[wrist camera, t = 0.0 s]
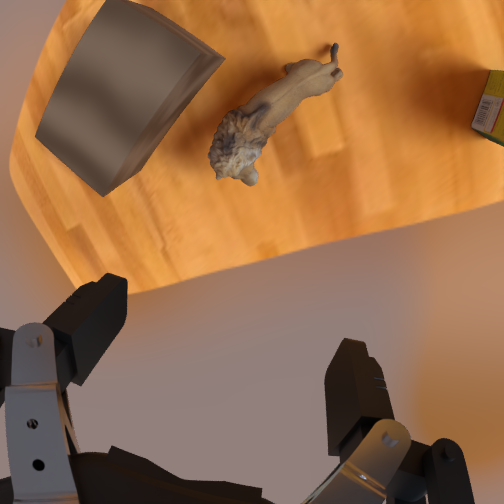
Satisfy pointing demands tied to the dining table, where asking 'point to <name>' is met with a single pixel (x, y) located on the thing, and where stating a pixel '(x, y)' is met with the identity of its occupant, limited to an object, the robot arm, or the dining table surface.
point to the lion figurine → (267, 117)
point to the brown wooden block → (123, 92)
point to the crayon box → (491, 109)
